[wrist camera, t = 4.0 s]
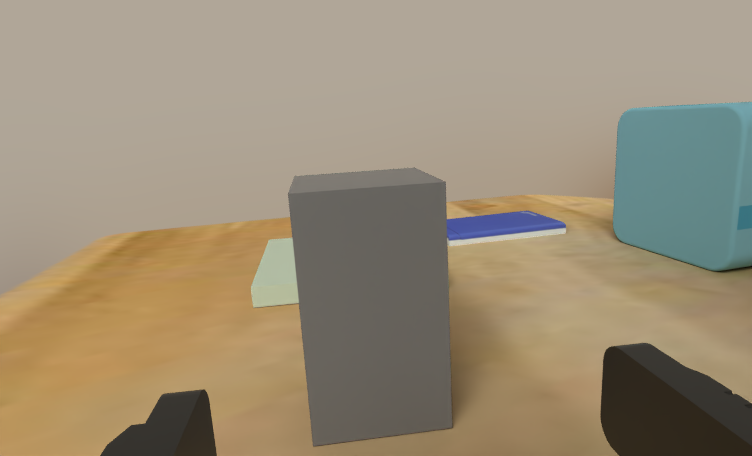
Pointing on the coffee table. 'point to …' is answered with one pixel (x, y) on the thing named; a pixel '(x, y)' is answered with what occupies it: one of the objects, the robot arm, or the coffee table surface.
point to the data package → (686, 183)
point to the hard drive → (501, 227)
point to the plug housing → (373, 302)
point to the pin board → (276, 275)
